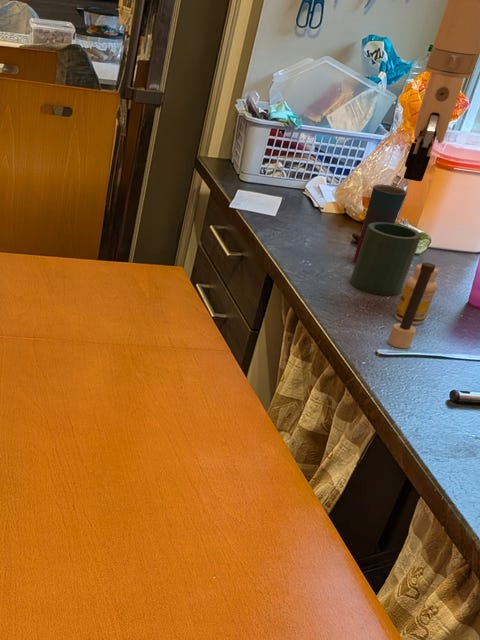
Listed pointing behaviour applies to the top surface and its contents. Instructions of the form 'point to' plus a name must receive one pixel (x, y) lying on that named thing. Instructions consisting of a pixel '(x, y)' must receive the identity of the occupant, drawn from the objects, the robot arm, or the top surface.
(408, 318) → the brush
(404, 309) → the supplement bottle
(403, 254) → the jar
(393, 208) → the cup
